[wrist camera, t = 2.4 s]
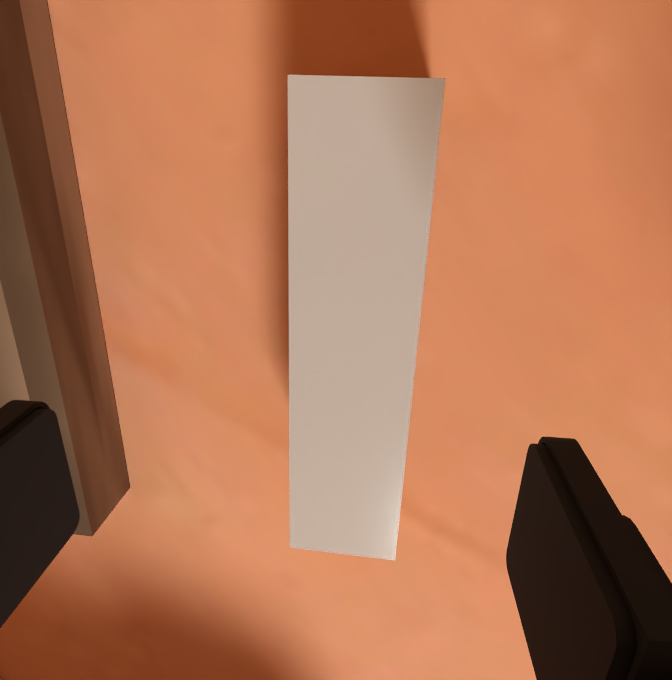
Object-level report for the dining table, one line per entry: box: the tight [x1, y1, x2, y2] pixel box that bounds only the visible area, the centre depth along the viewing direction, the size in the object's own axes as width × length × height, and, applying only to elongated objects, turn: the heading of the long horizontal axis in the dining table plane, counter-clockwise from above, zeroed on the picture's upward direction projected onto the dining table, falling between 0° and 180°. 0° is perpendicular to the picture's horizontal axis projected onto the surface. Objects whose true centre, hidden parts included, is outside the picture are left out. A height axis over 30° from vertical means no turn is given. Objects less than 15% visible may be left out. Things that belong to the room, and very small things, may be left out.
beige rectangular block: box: [288, 75, 445, 560], centre depth 18 cm, size 4×16×6 cm, turn 178°
